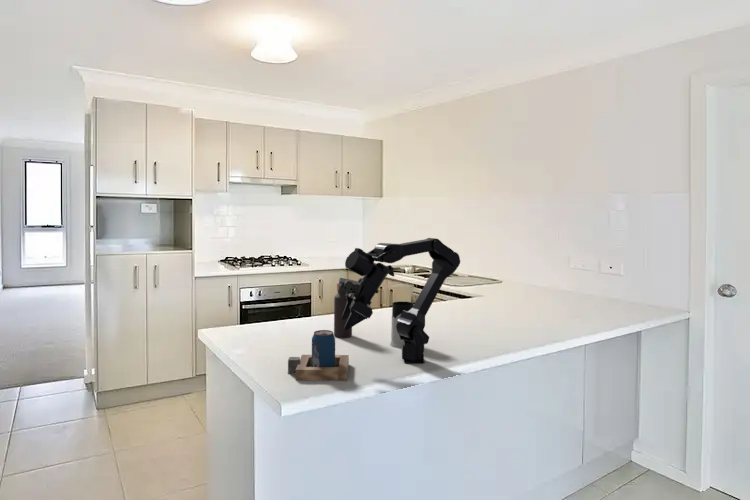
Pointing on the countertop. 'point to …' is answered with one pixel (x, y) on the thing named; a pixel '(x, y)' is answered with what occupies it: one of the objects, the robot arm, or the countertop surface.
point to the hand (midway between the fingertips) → (344, 324)
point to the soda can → (323, 349)
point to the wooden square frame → (318, 368)
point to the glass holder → (396, 313)
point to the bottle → (340, 316)
